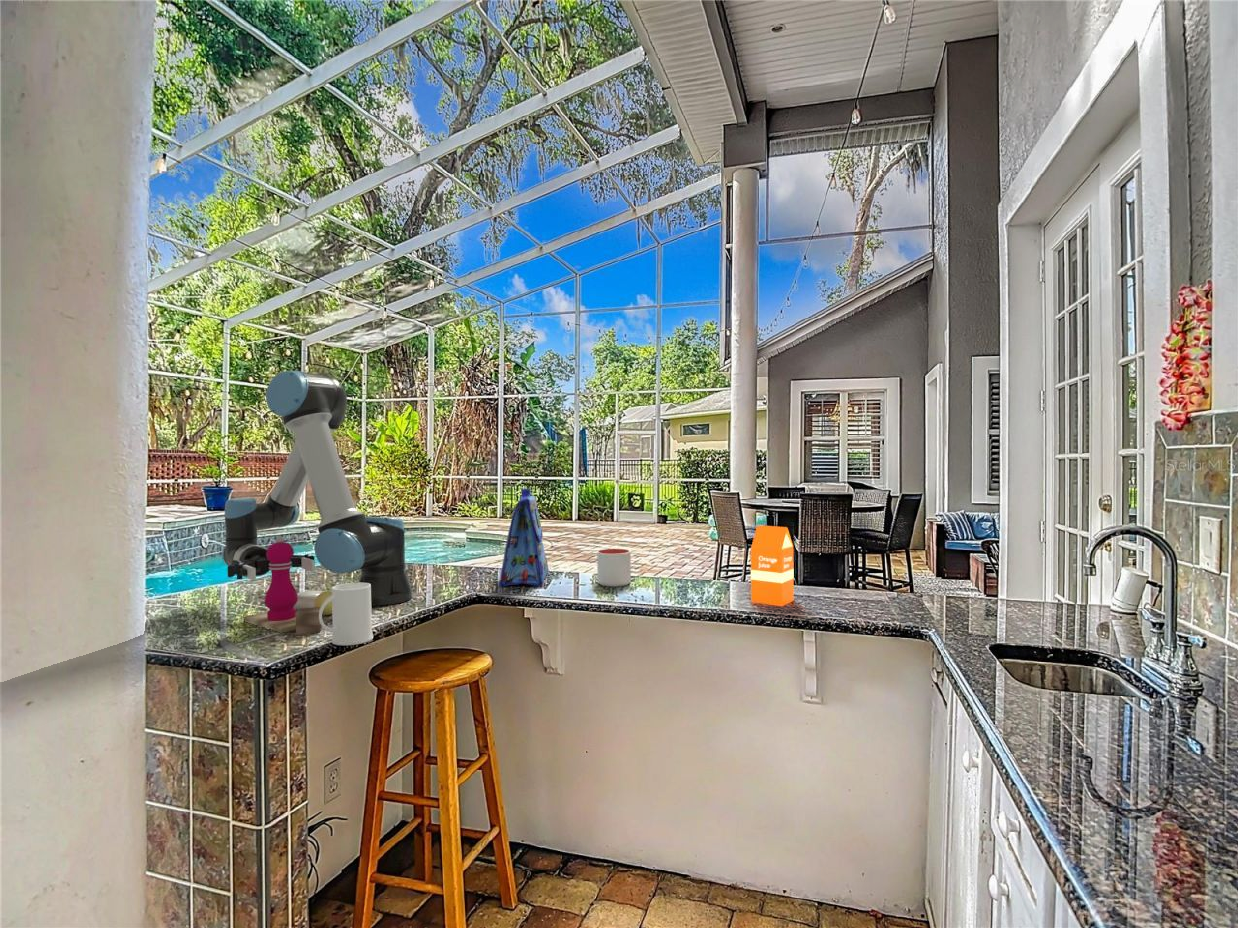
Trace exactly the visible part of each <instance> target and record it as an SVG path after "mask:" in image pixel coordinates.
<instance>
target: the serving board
mask: <svg viewBox="0 0 1238 928" xmlns="http://www.w3.org/2000/svg"><path fill="white" fill-rule="evenodd" d="M267 612H268V611H266V612H262V613H261V612H260V613H256V614H252V615H246V616H243V618H242V619H243V621H246V622H249V623H252V624H255V625H258V626H257V627H259V626H261V627H260V628H262V627H265V628H268V629H267V630H269V629H271V630H270V631H272V630H274V631H273V632H275V631H277V632H276V633H278V632H280V633H279V634H284V633H287V632H292V631H296V617H294V618H292V619H288V620H281V621H270V620H268V619H267ZM246 622H245V623H246ZM249 623H248V624H249ZM252 624H251V625H252ZM255 625H254V626H255ZM265 628H264V629H265ZM283 632H284V633H283Z"/></svg>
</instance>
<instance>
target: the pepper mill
mask: <svg viewBox="0 0 1238 928" xmlns="http://www.w3.org/2000/svg"><path fill="white" fill-rule="evenodd" d="M293 555H295V551H294V548H293V546H292V545H291V544H289V543H288V542H285V539H284V536H281V535H278V536H276V538H275V543H272V544H270V545H269V546H268V547H267V552H266V556H267V558H268V560H269V561H270V562H271V563H269V565H270V566H269V569H270V573H271V580H270V581H271V582H270V584H269V587H268V589H267V591H266V594H265V597H264V605H265V606H266V607H267V608H268V609H269V610H268V611H266V612H267V619H268V620H270V621H281V620H288V619H292V618H294V617H296V616H295V614H296V611H297V610H296V609H295V608H293V607H294V605H295V604H296V603H297V601H298V597H297V593H298V592H297V590H296V588H295V586H294V585H293V583H292V581H291V575H290V572H291V568H293V567H292V565H291V563H292V562H291V561H290V560H291V558H292V557H293Z"/></svg>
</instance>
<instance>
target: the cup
mask: <svg viewBox="0 0 1238 928" xmlns="http://www.w3.org/2000/svg"><path fill="white" fill-rule="evenodd" d="M596 556H597V557H596V558H597V560H596V561H597V564H596V565H597V583H598V584H599V585H601V586H603V587H608V588H609V587H610V588H616V587H618V588H619V587H624V586H627V585H629V584H630V583H631V581H632V578H631V577H632V576H631V575H632V574H631V571H632V570H631V566H632V563H631V550H629V549H625V548H604V549H600V550H598V551H596Z"/></svg>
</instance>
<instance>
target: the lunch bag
mask: <svg viewBox="0 0 1238 928" xmlns="http://www.w3.org/2000/svg"><path fill="white" fill-rule="evenodd" d="M520 493H521V497H520V498H519V500H518V502H517V503H516V505H515V507H514V509H513V513H512V517H511V520H510V525H509V529H508V532H507V538H506V542H505V547H504V548H505V549H504V554H503V560H502V566H501V570H500V571H501V572H500V577H499V587H509V586H516V585H517V586H519V585H521V584H524V585H529V586H530V585H531V586H535V587H541V586H543V585H544V582H545V578H546V576H547V575H548V574H549V571H550V569H549V565H548V564H549V563H548V560H547V557H546V553H545V549H544V548H545V547H544V543H543V536H544V535H543V530H542V529H543V528H542V524H541V518H540V513H539V509H538V504H537V499H536V495H534V494H533V493H531V488H529V487H528V488H521V490H520Z"/></svg>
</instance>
